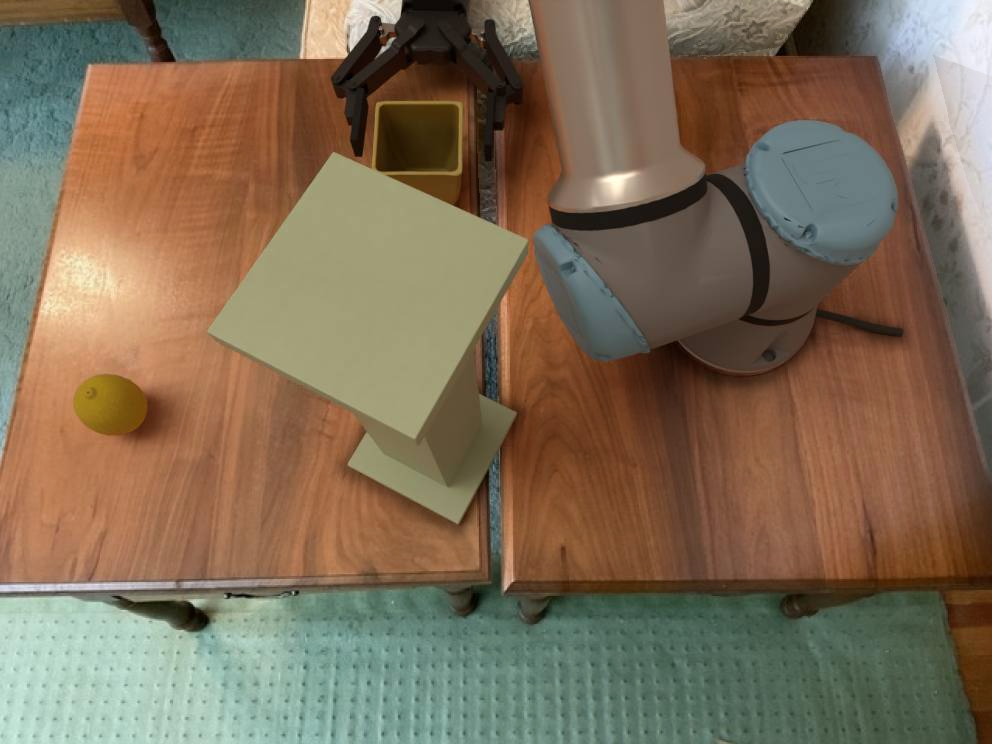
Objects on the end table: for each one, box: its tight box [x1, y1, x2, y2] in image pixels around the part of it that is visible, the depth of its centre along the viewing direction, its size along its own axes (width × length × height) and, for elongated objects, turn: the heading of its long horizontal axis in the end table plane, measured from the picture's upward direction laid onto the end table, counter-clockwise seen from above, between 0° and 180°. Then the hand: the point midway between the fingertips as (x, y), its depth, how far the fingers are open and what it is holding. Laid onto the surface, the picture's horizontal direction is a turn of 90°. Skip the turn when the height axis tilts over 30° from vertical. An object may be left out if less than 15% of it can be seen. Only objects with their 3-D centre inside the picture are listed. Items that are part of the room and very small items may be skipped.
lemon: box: [72, 373, 149, 437], centre depth 65 cm, size 6×6×8 cm
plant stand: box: [206, 151, 530, 526], centre depth 51 cm, size 12×12×34 cm
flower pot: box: [371, 100, 464, 206], centre depth 72 cm, size 9×9×9 cm
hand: (421, 151), depth 71 cm, fingers open, 13 cm apart
